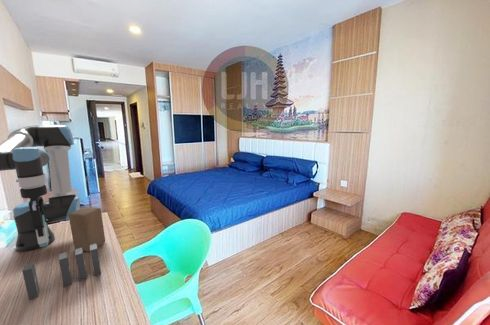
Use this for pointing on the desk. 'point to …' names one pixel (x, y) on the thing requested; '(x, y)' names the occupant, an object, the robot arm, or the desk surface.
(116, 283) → the desk surface
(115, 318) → the desk surface
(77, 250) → the domino
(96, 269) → the domino
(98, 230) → the block
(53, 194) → the robot arm
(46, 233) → the domino
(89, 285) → the desk surface
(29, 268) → the domino
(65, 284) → the domino
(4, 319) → the desk surface
